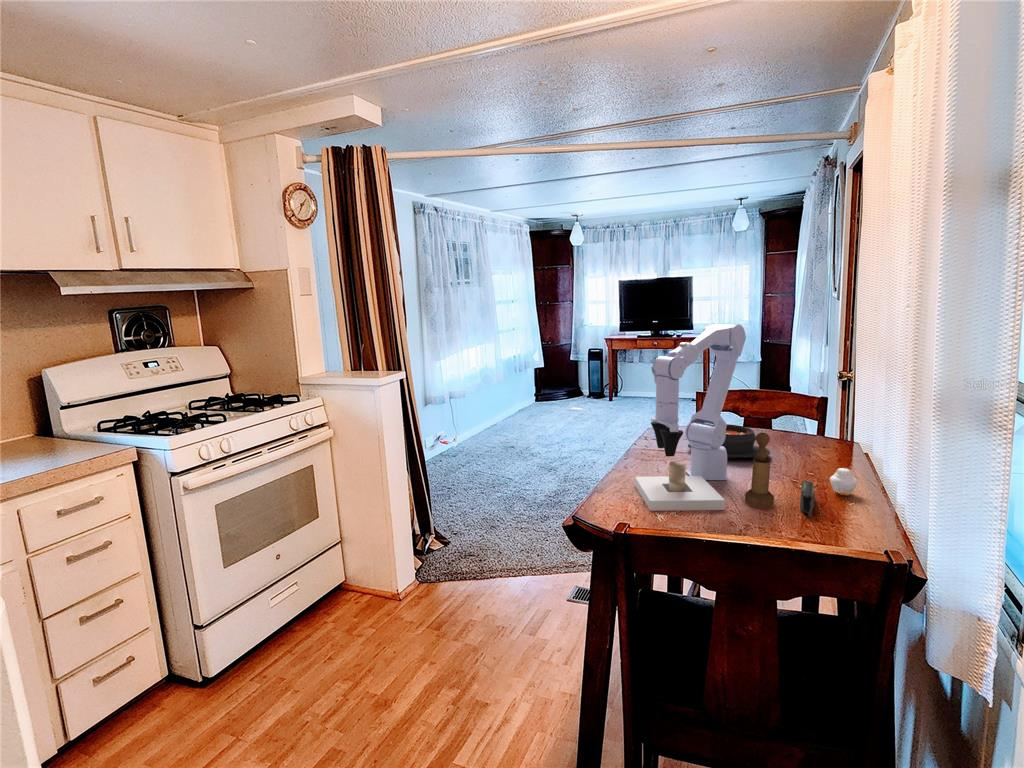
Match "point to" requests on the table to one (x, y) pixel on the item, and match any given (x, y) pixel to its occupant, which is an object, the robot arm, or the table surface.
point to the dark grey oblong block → (807, 497)
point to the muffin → (843, 481)
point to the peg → (677, 476)
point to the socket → (678, 494)
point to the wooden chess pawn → (760, 477)
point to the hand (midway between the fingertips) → (665, 451)
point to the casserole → (740, 442)
